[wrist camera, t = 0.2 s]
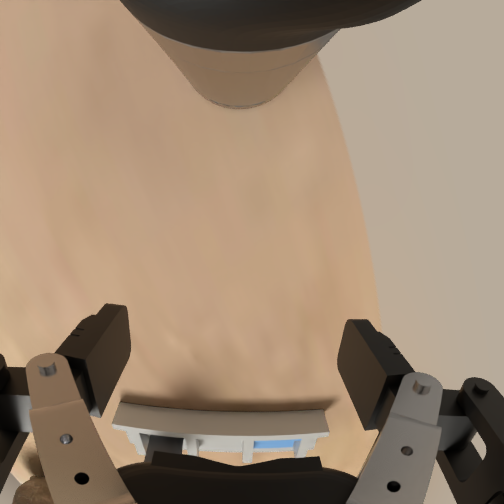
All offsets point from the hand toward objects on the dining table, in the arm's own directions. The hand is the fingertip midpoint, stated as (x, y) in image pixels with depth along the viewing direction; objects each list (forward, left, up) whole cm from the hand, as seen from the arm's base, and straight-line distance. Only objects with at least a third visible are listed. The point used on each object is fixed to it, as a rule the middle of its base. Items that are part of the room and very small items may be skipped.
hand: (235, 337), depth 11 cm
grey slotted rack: (+28, -1, -18) cm, 33 cm away
